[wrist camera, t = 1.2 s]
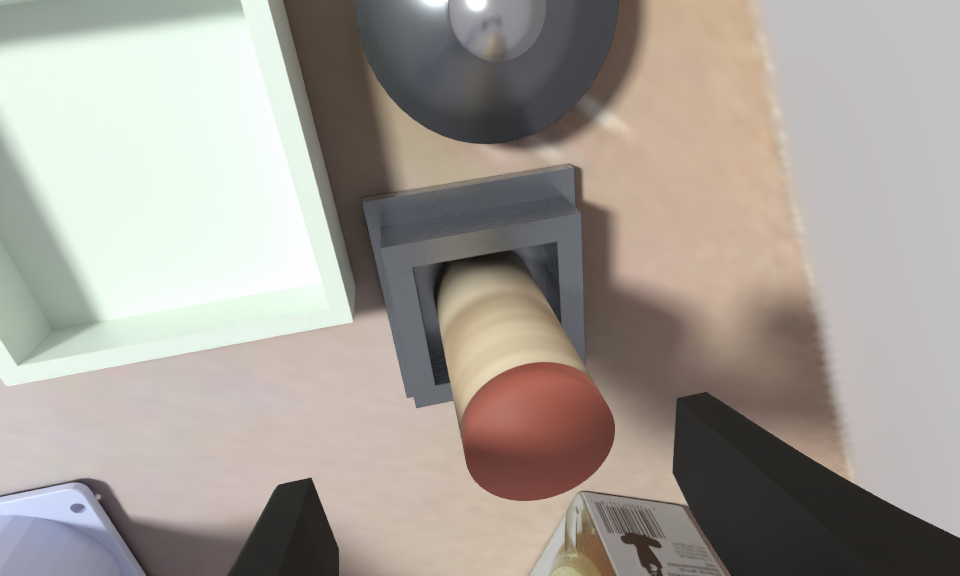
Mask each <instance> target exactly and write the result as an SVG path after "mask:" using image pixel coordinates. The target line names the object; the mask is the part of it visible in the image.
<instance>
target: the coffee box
mask: <svg viewBox="0 0 960 576" xmlns="http://www.w3.org/2000/svg"><path fill="white" fill-rule="evenodd" d="M530 576H725V574H724V573H723V571H722V569H721V568H720V567H719V565H718V563H717V561H716V560H715V558H714V557H713V555H712V554H711V552H710V550H709V549H708V547H707V545H706V544H705V542H704V541H703V539H702V538H701V536H700V534H699V532H698V531H697V529H696V528H695V526H694V524H693V523H692V521H691V520H690V518H689V517H688V515H687V513H686V512H685V510H684V509H683V507H681V506H678V505H672V504H666V503H659V502H652V501H645V500H638V499H631V498H624V497H617V496H610V495H602V494H596V493H589V492H579V493H578V494H577V496H576V498H575V499H574V501H573V502H572V504H571V506H570V507H569V509H568V511H567V513H566V515H565V516H564V518H563V520H562V521H561V523H560V525H559V527H558V528H557V530H556V532H555V533H554V535H553V537H552V538H551V540H550V542H549V543H548V545H547V547H546V549H545V550H544V552H543V554H542V555H541V557H540V559H539V560H538V562H537V564H536V566H535V567H534V569H533V571H532V572H531V574H530Z"/></svg>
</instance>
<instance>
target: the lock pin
mask: <svg viewBox="0 0 960 576" xmlns="http://www.w3.org/2000/svg"><path fill="white" fill-rule="evenodd" d="M434 302H435V307H436V312H437V317H438V323H439V328H440V333H441V338H442V343H443V348H444V353H445V358H446V363H447V368H448V373H449V378H450V383H451V388H452V394H453V399H454V404H455V409H456V414H457V419H458V424H459V429H460V434H461V439H462V444H463V449H464V454H465V459H466V464H467V467H468V470H469V472H470V474H471V476H472V477H473V479H474V480H475V482H477V483H478V484H479V485H480V486H481V487H482V488H483V489H485V490H486V491H488V492H489V493H491V494H493V495H496V496H498V497H501V498H505V499H509V500H517V501H532V500H540V499H546V498H550V497H553V496H556V495H559V494H562V493H564V492H566V491H569V490H571V489H573V488H574V487H576V486H578V485H579V484H581V483H582V482H584V481H585V480H587V479H588V478H589V477H590V476H591V475H592V474H594V473H595V472H596V470H597V469H598V468H599V467H600V466H601V465H602V463H603V462H604V461H605V459H606V457H607V456H608V454H609V452H610V450H611V447H612V445H613V441H614V435H615V424H614V419H613V415H612V413H611V411H610V409H609V407H608V405H607V404H606V402H605V400H604V398H603V397H602V395H601V393H600V391H599V390H598V388H597V386H596V385H595V383H594V381H593V379H592V378H591V376H590V374H589V372H588V371H587V369H586V367H585V366H584V364H583V362H582V360H581V359H580V357H579V355H578V353H577V352H576V350H575V348H574V347H573V345H572V343H571V341H570V340H569V338H568V336H567V334H566V333H565V331H564V329H563V327H562V326H561V324H560V322H559V321H558V319H557V317H556V315H555V314H554V312H553V310H552V308H551V307H550V305H549V303H548V302H547V300H546V298H545V296H544V295H543V293H542V291H541V289H540V288H539V286H538V284H537V283H536V281H535V279H534V277H533V276H532V274H531V272H530V270H529V269H528V267H527V265H526V264H525V263H524V261H523V260H522V259H521V258H520V257H519V256H517V255H516V254H515V253H513V252H511V251H509V250H507V251H501V252H495V253H490V254H484V255H479V256H473V257H467V258H462V259H456V260H451V261H448V262H447V263H446V265H445V266H444V267H443V268H442V270H441V271H440V273H439V275H438V277H437V279H436V282H435V287H434Z"/></svg>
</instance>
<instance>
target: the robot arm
mask: <svg viewBox="0 0 960 576" xmlns="http://www.w3.org/2000/svg"><path fill="white" fill-rule="evenodd" d="M673 474H674V476H675V479H676V481H677V483H678V485H679V487H680V489H681V491H682V493H683V495H684V497H685V499H686V501H687V503H688V505H689V507H690V509H691V511H692V513H693V515H694V517H695V519H696V521H697V523H698V524H699V526H700V527H701V529H702V531H703V532H704V534H705V535H706V537H707V538H708V540H709V542H710V543H711V545H712V546H713V548H714V549H715V551H716V553H717V554H718V556H719V557H720V559H721V560H722V562H723V563H724V565H725V567H726V568H727V570H728V571H729V573H730V574H731V576H960V538H958V537H956V536H954V535H952V534H950V533H948V532H946V531H944V530H942V529H940V528H938V527H936V526H934V525H932V524H930V523H928V522H926V521H924V520H922V519H920V518H917V517H915V516H913V515H911V514H909V513H907V512H905V511H903V510H902V509H900V508H898V507H895V506H894V505H892V504H890V503H888V502H886V501H884V500H882V499H881V498H879V497H877V496H875V495H873V494H872V493H870V492H868V491H866V490H864V489H863V488H861V487H859V486H857V485H855V484H854V483H852V482H850V481H848V480H846V479H845V478H843V477H841V476H839V475H838V474H836V473H834V472H833V471H831V470H829V469H827V468H826V467H824V466H822V465H821V464H819V463H817V462H816V461H814V460H812V459H811V458H809V457H807V456H806V455H804V454H802V453H801V452H799V451H798V450H796V449H794V448H793V447H791V446H790V445H788V444H786V443H785V442H783V441H782V440H780V439H778V438H777V437H775V436H774V435H772V434H771V433H769V432H767V431H766V430H764V429H763V428H761V427H760V426H758V425H757V424H755V423H753V422H752V421H750V420H749V419H747V418H746V417H744V416H743V415H741V414H740V413H738V412H737V411H735V410H734V409H732V408H730V407H729V406H727V405H726V404H724V403H723V402H721V401H720V400H718V399H716V398H715V397H713V396H712V395H710V394H708V393H707V392H704V393H700V394H695V395H690V396H686V397H681V398H677V406H676V423H675V439H674V456H673ZM78 503H79V504H78ZM81 504H82V505H81ZM0 576H146V575H145V573H144V571H143V570H142V568H141V567H140V565H139V564H138V562H137V561H136V559H135V558H134V556H133V555H132V553H131V551H130V550H129V548H128V547H127V545H126V544H125V542H124V541H123V539H122V538H121V536H120V534H119V533H118V531H117V530H116V528H115V527H114V525H113V524H112V522H111V521H110V519H109V518H108V516H107V514H106V513H105V511H104V510H103V508H102V507H101V505H100V504H99V502H98V501H97V499H96V498H95V496H94V494H93V493H92V491H91V490H90V489H89V488H88V487H87V486H86V485H84V484H82V483H67V484H63V485H58V486H53V487H48V488H43V489H38V490H33V491H28V492H23V493H18V494H13V495H8V496H4V497H0ZM227 576H339V548H338V546H337V543H336V541H335V538H334V535H333V533H332V530H331V528H330V525H329V522H328V520H327V517H326V515H325V512H324V509H323V507H322V504H321V502H320V499H319V496H318V494H317V491H316V489H315V486H314V483H313V481H312V478H307V479H303V480H298V481H293V482H289V483H284V484H280V485H278V486H277V487H276V489H275V490H274V492H273V493H272V495H271V497H270V499H269V501H268V503H267V505H266V507H265V508H264V510H263V512H262V514H261V516H260V518H259V520H258V521H257V523H256V525H255V527H254V529H253V531H252V532H251V534H250V536H249V538H248V540H247V542H246V543H245V545H244V547H243V549H242V550H241V552H240V554H239V556H238V558H237V559H236V561H235V563H234V564H233V566H232V568H231V570H230V571H229V573H228V575H227Z"/></svg>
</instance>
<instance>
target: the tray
mask: <svg viewBox="0 0 960 576" xmlns="http://www.w3.org/2000/svg"><path fill="white" fill-rule="evenodd" d="M355 293H356V284H355V280H354V276H353V272H352V268H351V264H350V260H349V257H348V253H347V249H346V245H345V241H344V237H343V233H342V229H341V225H340V221H339V217H338V213H337V209H336V206H335V202H334V198H333V194H332V190H331V186H330V182H329V178H328V174H327V170H326V166H325V162H324V158H323V155H322V151H321V147H320V143H319V139H318V135H317V131H316V127H315V123H314V119H313V115H312V111H311V107H310V104H309V100H308V96H307V92H306V88H305V84H304V80H303V76H302V72H301V68H300V64H299V60H298V56H297V53H296V49H295V45H294V41H293V37H292V33H291V29H290V25H289V21H288V17H287V13H286V9H285V5H284V2H283V0H0V378H1V379H2V381H3V382H4V384H5V385H6V386H12V385H17V384H23V383H28V382H33V381H39V380H44V379H49V378H55V377H60V376H66V375H71V374H76V373H82V372H87V371H93V370H98V369H103V368H109V367H114V366H119V365H125V364H130V363H136V362H141V361H146V360H152V359H157V358H162V357H168V356H173V355H179V354H184V353H189V352H195V351H200V350H206V349H211V348H216V347H222V346H227V345H232V344H238V343H243V342H249V341H254V340H259V339H265V338H270V337H275V336H281V335H286V334H292V333H297V332H302V331H308V330H313V329H319V328H324V327H329V326H335V325H340V324H345V323H351V322H353V321H354V307H355Z"/></svg>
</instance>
